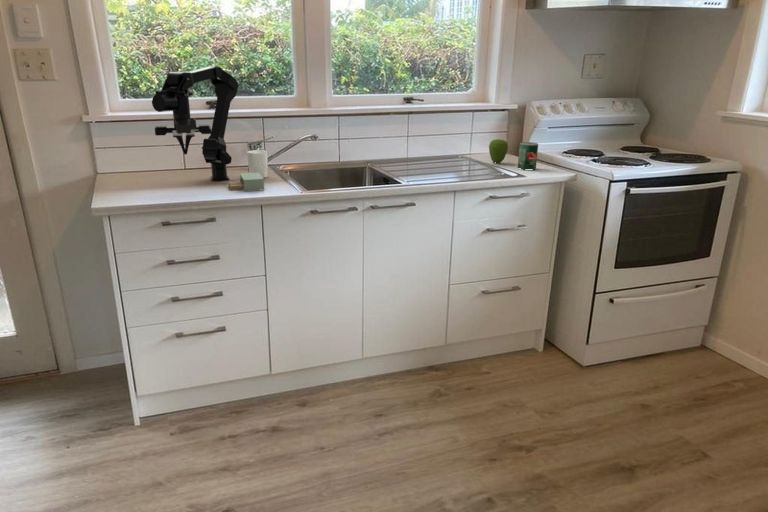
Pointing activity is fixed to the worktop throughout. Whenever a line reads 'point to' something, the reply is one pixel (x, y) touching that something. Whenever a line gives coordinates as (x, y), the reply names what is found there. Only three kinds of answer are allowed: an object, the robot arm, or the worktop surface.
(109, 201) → the worktop surface
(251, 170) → the white cup
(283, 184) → the worktop surface
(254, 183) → the green channel beam
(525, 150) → the canned tomato
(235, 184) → the board
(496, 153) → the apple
